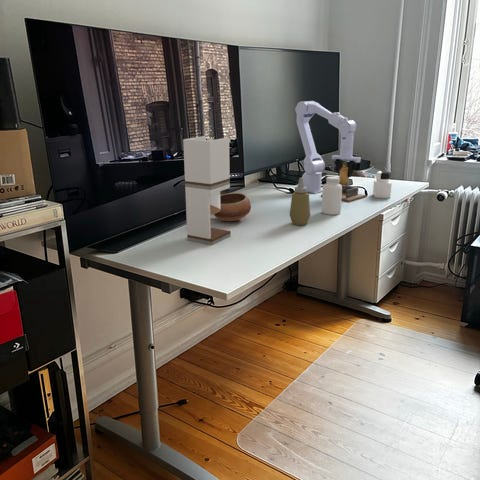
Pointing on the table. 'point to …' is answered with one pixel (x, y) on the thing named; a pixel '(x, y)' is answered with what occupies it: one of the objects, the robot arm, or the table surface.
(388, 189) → the medicine bottle
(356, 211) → the table surface
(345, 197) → the bottle rest
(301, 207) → the squeeze bottle
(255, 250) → the table surface
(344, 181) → the amber bottle
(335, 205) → the pill bottle
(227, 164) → the white tower
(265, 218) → the table surface
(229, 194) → the bowl
